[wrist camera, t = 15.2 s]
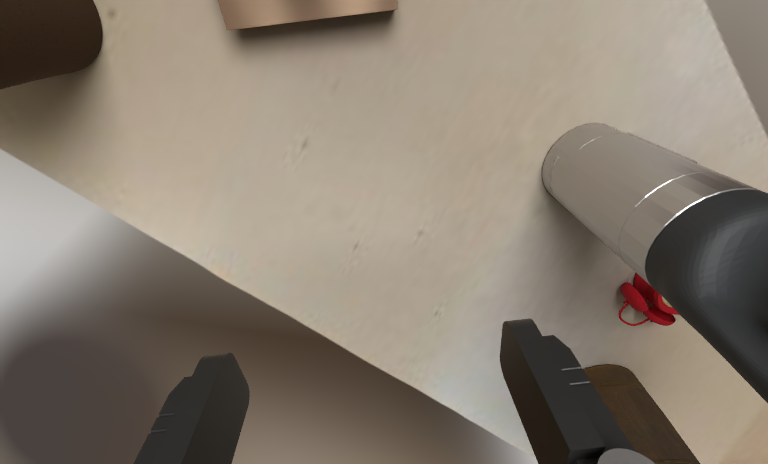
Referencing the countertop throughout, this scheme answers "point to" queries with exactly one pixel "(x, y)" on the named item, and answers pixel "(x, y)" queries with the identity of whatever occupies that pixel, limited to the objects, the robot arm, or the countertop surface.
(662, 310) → the alarm clock
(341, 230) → the countertop surface
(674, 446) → the wooden container
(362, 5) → the socket block
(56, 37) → the brown bottle
